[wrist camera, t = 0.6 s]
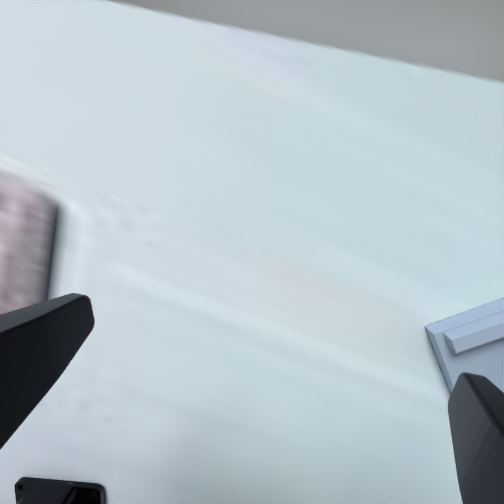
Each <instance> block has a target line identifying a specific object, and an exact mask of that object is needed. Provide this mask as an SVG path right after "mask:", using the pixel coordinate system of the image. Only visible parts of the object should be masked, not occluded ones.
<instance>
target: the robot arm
mask: <svg viewBox="0 0 504 504" xmlns="http://www.w3.org/2000/svg"><path fill="white" fill-rule="evenodd" d="M94 323H95V320H94V315H93V310H92V305H91V300H90V298H89V297H88V296H86V295H82V294H77V293H71V294H68V295H64V296H61V297H58V298H54V299H51V300H48V301H44V302H41V303H38V304H34V305H31V306H28V307H24V308H21V309H18V310H14V311H11V312H8V313H4V314H1V315H0V449H1V448H2V447H3V446H4V444H5V443H6V442H7V441H8V440H9V438H10V437H11V436H12V435H13V434H14V432H15V431H16V430H17V429H18V427H19V426H20V425H21V424H22V423H23V421H24V420H25V419H26V418H27V417H28V415H29V414H30V413H31V412H32V411H33V409H34V408H35V407H36V406H37V404H38V403H39V402H40V401H41V400H42V398H43V397H44V396H45V395H46V394H47V392H48V391H49V390H50V389H51V387H52V386H53V385H54V384H55V382H56V381H57V380H58V379H59V377H60V376H61V375H62V373H63V372H64V370H65V369H66V367H67V366H68V365H69V363H70V362H71V360H72V359H73V357H74V356H75V354H76V353H77V351H78V350H79V349H80V347H81V346H82V344H83V343H84V341H85V340H86V338H87V337H88V335H89V334H90V332H91V331H92V329H93V327H94ZM448 414H449V421H450V428H451V435H452V442H453V449H454V456H455V463H456V470H457V477H458V483H459V488H460V493H461V497H462V501H463V504H504V392H502V391H501V390H500V389H499V388H498V387H497V386H496V385H495V384H493V383H492V382H491V381H490V380H489V379H488V378H486V377H485V376H483V375H479V374H474V373H469V372H462V373H461V374H460V375H459V376H458V378H457V381H456V383H455V386H454V388H453V390H452V393H451V395H450V398H449V401H448ZM15 495H16V504H104V490H103V487H102V486H101V485H100V484H96V483H85V482H74V481H63V480H51V479H40V478H29V477H22V478H20V479H19V480H18V481H17V482H16V484H15Z"/></svg>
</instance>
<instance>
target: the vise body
mask: <svg viewBox="0 0 504 504" xmlns="http://www.w3.org/2000/svg"><path fill="white" fill-rule="evenodd" d="M425 328H426V331H427V333H428V336H429V339H430V341H431V344H432V346H433V349H434V352H435V354H436V357H437V359H438V362H439V365H440V367H441V370H442V372H443V375H444V378H445V380H446V383H447V386H448V388H449V391H450V393H452V390H453V388H454V386H455V383H456V381H457V378H458V376H459V375H460V374H461V373H462V372H469V373H474V374H479V375H483V376H485V377H486V378H488V379H489V380H490V381H491V382H492V383H493V384H495V385H496V386H497V387H498V388H499V389H500V390H501V391H502V392H504V298H502V299H499V300H497V301H494V302H491V303H488V304H486V305H483V306H480V307H477V308H474V309H472V310H469V311H466V312H463V313H461V314H458V315H455V316H452V317H449V318H447V319H444V320H441V321H438V322H436V323H433V324H430V325H427V326H425Z"/></svg>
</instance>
